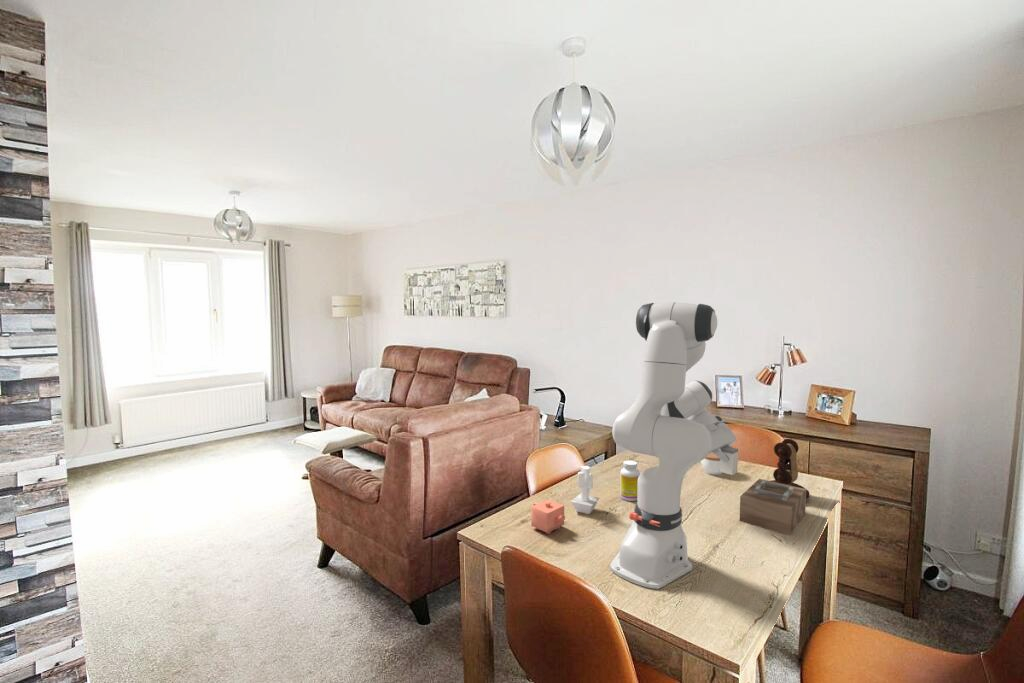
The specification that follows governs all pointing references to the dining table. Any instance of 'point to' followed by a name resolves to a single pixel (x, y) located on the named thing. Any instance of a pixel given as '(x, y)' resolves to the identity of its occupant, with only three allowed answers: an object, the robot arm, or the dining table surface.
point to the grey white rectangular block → (732, 463)
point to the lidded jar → (711, 464)
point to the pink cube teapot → (547, 516)
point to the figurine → (585, 492)
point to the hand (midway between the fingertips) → (730, 459)
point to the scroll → (787, 471)
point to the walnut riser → (773, 506)
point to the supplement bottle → (629, 481)
